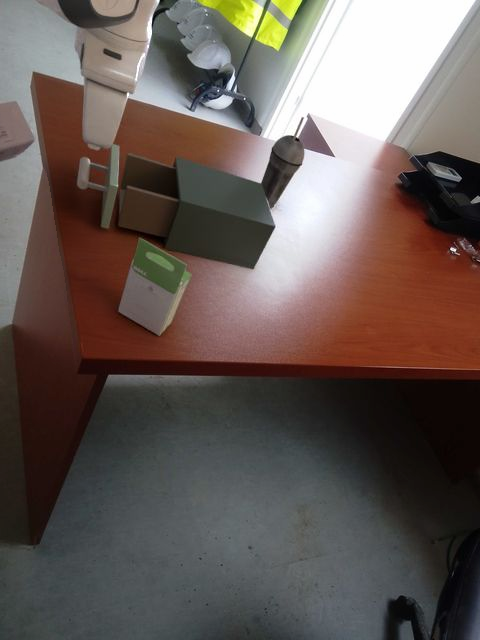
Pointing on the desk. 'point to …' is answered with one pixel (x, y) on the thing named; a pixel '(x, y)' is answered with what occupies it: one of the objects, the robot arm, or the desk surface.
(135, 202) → the drawer
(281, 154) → the beverage cup
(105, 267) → the desk surface
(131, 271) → the ink box
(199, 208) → the cabinet
